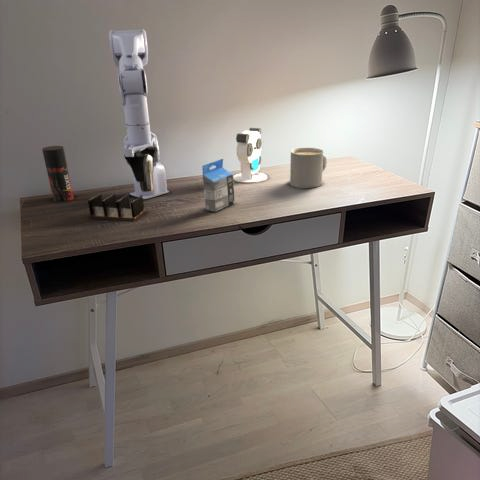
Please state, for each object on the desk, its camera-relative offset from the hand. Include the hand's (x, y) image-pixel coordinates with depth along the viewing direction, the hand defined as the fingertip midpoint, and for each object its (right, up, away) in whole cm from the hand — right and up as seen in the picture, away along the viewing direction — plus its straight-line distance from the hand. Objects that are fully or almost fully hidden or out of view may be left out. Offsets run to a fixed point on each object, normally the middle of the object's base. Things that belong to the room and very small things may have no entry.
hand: (144, 179), depth 133 cm
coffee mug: (+47, +7, +29) cm, 56 cm away
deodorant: (-29, 0, +22) cm, 37 cm away
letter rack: (-9, -8, +7) cm, 14 cm away
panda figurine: (+28, +10, +36) cm, 47 cm away
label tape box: (+19, -5, +11) cm, 23 cm away
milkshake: (0, -3, +2) cm, 3 cm away
